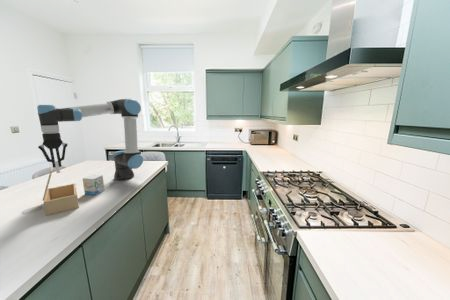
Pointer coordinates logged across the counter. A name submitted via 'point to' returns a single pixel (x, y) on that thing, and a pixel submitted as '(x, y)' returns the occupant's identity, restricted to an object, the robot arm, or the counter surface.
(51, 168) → the lid
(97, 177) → the ink box
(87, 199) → the counter surface
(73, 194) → the box
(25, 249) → the counter surface
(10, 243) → the counter surface
